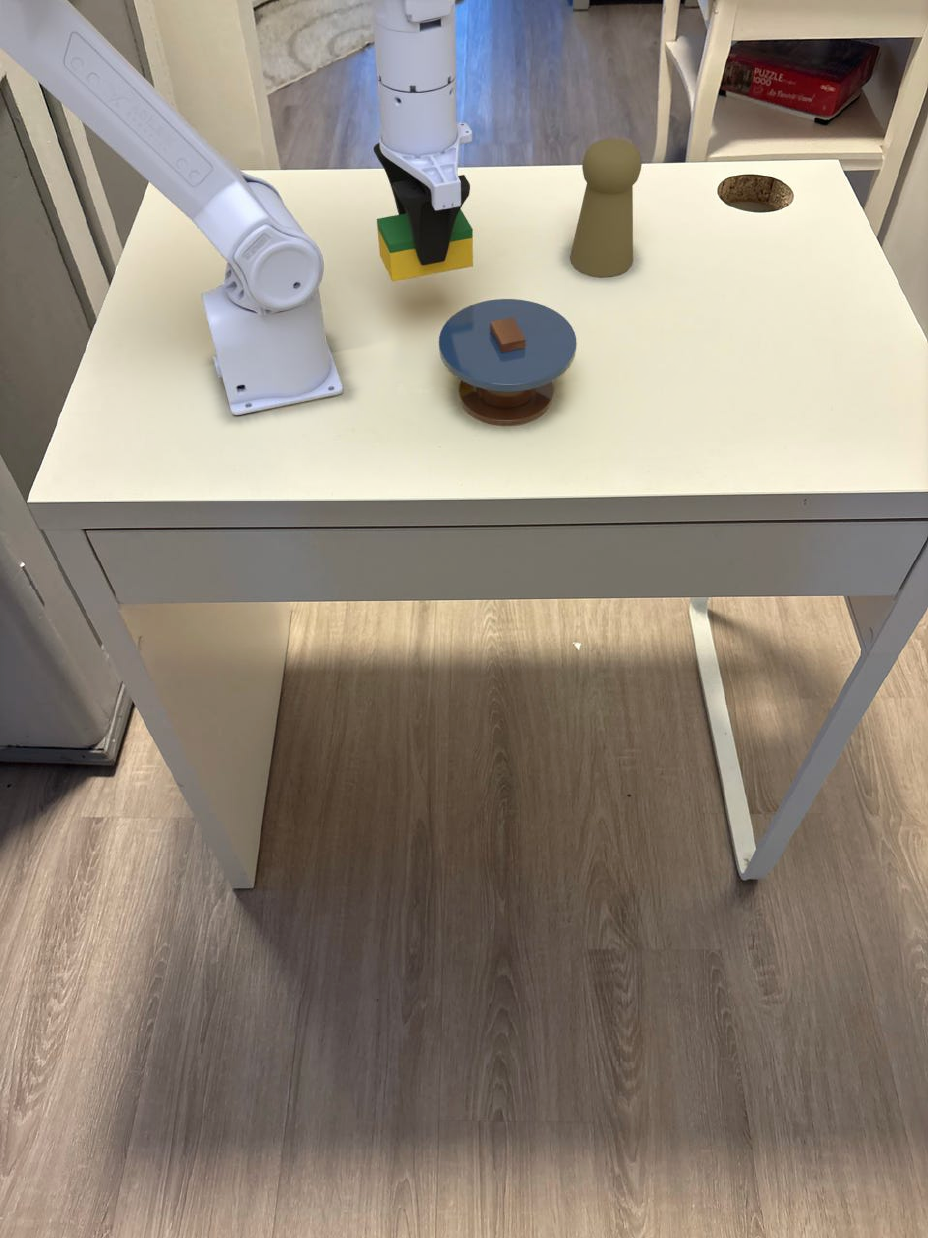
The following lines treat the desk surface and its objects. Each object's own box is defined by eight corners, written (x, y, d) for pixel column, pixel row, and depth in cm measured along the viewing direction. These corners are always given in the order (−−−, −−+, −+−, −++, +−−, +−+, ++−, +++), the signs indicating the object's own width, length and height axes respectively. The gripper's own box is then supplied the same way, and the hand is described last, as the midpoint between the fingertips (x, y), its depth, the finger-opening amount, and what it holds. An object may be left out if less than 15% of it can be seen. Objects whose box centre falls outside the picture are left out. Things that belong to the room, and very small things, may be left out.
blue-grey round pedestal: (462, 450, 79) (461, 396, 74) (425, 366, 85) (422, 312, 81) (591, 422, 80) (597, 368, 76) (545, 342, 87) (548, 288, 82)
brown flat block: (501, 353, 77) (501, 343, 77) (489, 331, 79) (489, 321, 78) (525, 348, 78) (526, 338, 77) (513, 326, 79) (513, 316, 79)
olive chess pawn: (632, 242, 96) (648, 129, 87) (633, 278, 93) (649, 164, 84) (571, 239, 97) (580, 127, 88) (568, 275, 93) (578, 161, 84)
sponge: (392, 281, 81) (389, 244, 78) (379, 255, 83) (376, 218, 80) (472, 266, 82) (472, 228, 79) (458, 240, 84) (457, 203, 82)
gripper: (502, 111, 67) (498, 285, 78) (440, 25, 76) (444, 193, 86) (402, 128, 66) (413, 303, 77) (351, 38, 74) (367, 207, 85)
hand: (424, 246), depth 81 cm, fingers closed on sponge, 4 cm apart
